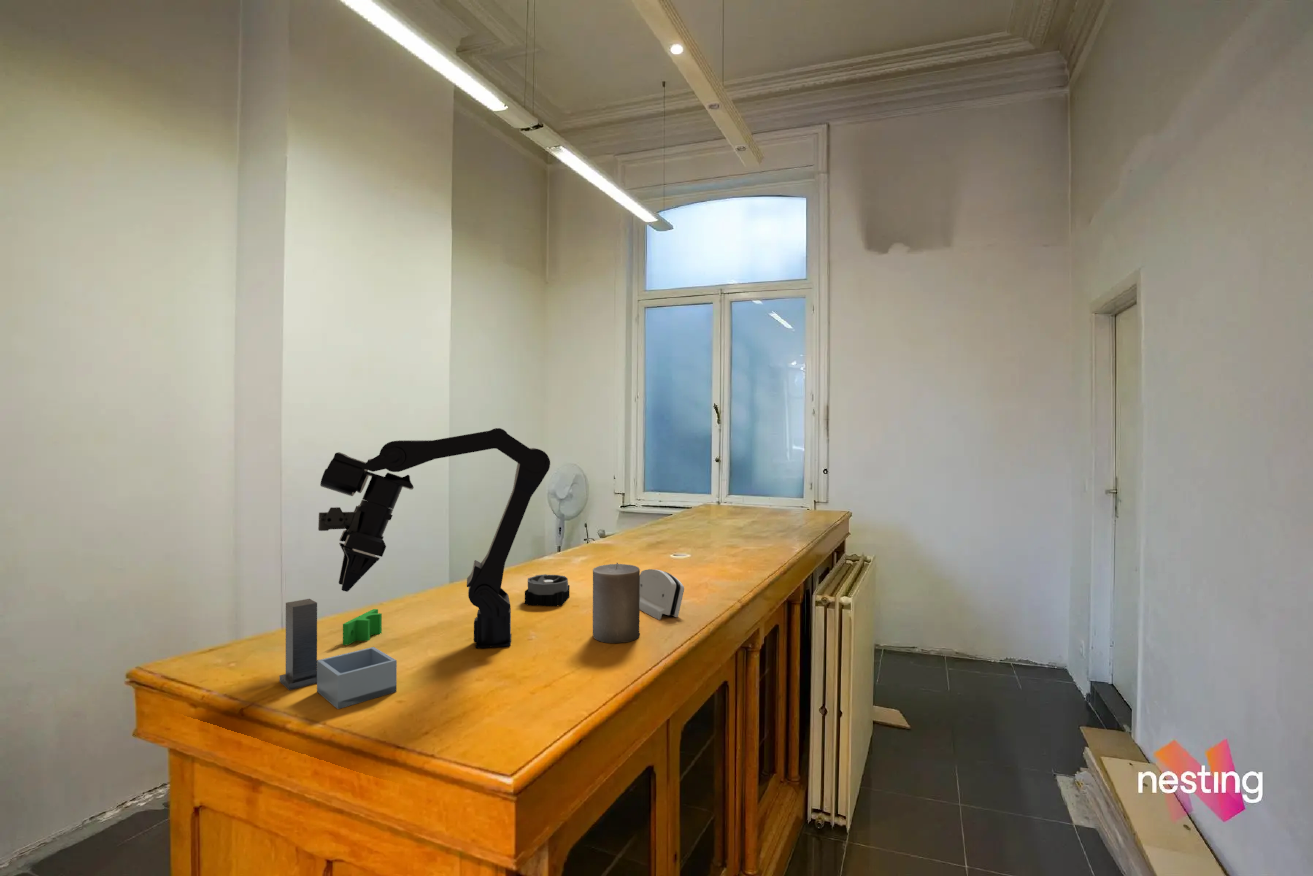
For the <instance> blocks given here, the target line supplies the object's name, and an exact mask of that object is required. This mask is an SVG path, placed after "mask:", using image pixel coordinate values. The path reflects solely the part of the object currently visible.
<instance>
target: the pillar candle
mask: <svg viewBox="0 0 1313 876" xmlns="http://www.w3.org/2000/svg"><path fill="white" fill-rule="evenodd" d="M640 574H641V569H640V568H639V567H638V566H636V565H633V564H625V563H624V564H623V563H618V562H616V563H614V564H613V563H610V564H602V565H598V566H596V567H594V568H593V569H592V637H593V638H594V640H596V641H598V642H602V643H607V644H620V643H630V642H632V641H635V640H636V641H637V639H639V638H640V635H641V633H640V622H641V621H640V615H641V614H640V611H641V610H640V608H639V606H640V605H639V602H640Z"/></svg>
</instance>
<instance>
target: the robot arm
mask: <svg viewBox="0 0 1313 876" xmlns="http://www.w3.org/2000/svg"><path fill="white" fill-rule="evenodd" d="M493 449H496V450H498V451H500V452H501V453H503V454H504V455H506V456H507V457H508V458H510V459H511V460H512V461H514V462H516V463H517V465H516V470H515V475H514V481H513V488H512V491H511V493H510V495H509V498H508V501H507V503H506V505H505V509H504V511H503V513H502V515H501V518H500V521H499V523H498V527H497V528H496V531H495V534H494V535H493V539H492V541H491V543H490V546H489V549H488V551H487V554H486V555H485V556H484V557H483V560H481V562H480V561H478V560H474V561H473V566H472V570H471V572H470V573H469V576H467V578H466V588H468V593H467V594H468V599H469V601H470V603H471V604H472V605H473V606H475V607H476V608H478V610H477V612H476V616H475V618H474V621H473V642H474V643H475V649H484V648H501V647H503V648H504V647H510V646H511V645H512V633H511V631H512V630H511V629H512V626H511V625H512V621H511V619H512V618H511V617H512V615H511V613H512V610H511V601H510V597H509V593H508V592H506V591H505V590H504V589H503V588H502V584H503V583H502V582H503V576H504V571H505V565H506V561H507V559H508V556H509V554H510V552H511V549H512V546H513V544H514V541H515V539H516V536H517V533H518V531H519V528H520V525H521V523H522V521H523V519H524V516H525V513H526V511H527V508H528V506H529V503H530V501H531V498H532V496H533V495H534V494H535V492H536V490H538V487H540V485H541V484H542V482H543V480H544V479H545V477H546V475H547V474H548V472H549V470H550V468H551V460H550V457H549V456H548V454H547V453H546V452H545V451H544V450H542V449H540V448H535V447H530V448H529V447H528V446H526V445H525V444H524V443H522V442H521V441H519V440H517V439H516V438H515V437H513V436H512V435H510V434H508V432H507V431H506V430H505V429H503V428H500V427H499V428H498V427H497V428H496V427H495V428H492V429H490V430H485V431H479V432H474V433H469V434H468V433H467V434H463V435H462V434H461V435H455V436H451V437H444V438H438V439H434V440H433V439H432V440H431V439H430V440H418V439H415V440H412V439H411V440H406V439H405V440H393V441H389V442H387V443H385V444H384V445H383V446H382V448H381V449H380V451H379V454H378V455H376V456H375V457H373V458H369V459H367V461H366V462H365V461H364V460H363V461H362V460H360V459H357V458H354V457H351V456H350V455H349V456H348V455H347V454H345V453H342V452H335V453H334V456H333V458H332V459H331V461H330V462H329V464H328V465H327V467H326V468H325V469H324V472H323V474H322V477H321V479H320V487H321V488H325V489H328V490H331V491H335V492H337V493H340V494H344V495H347V496H350V497H353V496H354V495H355V494H356V493H359V494H361V493H363V491H364V489H365V486H366V484H367V481H368V479H369V477H370V480H369V482H368V485H367V487H366V489H365V492H364V494H363V496H362V499H361V501H360V503H359V504H358V505H356V506H355V508H354V510H353V511H343V510H342V509H341V507H338V506H335V507H329V509H328V511H327V512H326V511H324V512H323V511H322V512H318V522H317V523H318V529H317V530H318V531H320V532H325V531H326V532H328V531H329V530H343V531H342V533H341V536H340V538H339V541H340V542H339V544H338V545H339V546H340V548H341V550H342V552H343V559H342V563H341V569H340V574H339V579H338V584H339V585H341V591H342V592H345V593H346V592H349V591H350V590H351V589H353V587H354V585H355V584H357V583H358V582H359V580H360V579H361V578H362V577H363V576H364V575H366V573H367V572H368V571H369V570H370V569H371V568H372V567H373V566H374V565H375V564H376V563H377V562H378V561H380V558H381V557H383V556H384V553H385V550H386V548H387V545H386V543H385V541H384V536H383V535H384V533H385V531H386V528H387V526H388V524H389V522H390V521H391V520H392V517H393V514H392V513H393V511H394V509H395V506H396V504H397V501H398V499H399V497H400V495H401V492H402V489H403V488H405V489H408V490H413V489H414V485H413V483H412V481H411V476H410V475H409V474H407V475H405V476H400V475H397V474H394V473H399V472H403V471H407V470H408V469H412V468H414V467H417V466H419V465H422V464H425V463H428V462H431V461H433V460H438V459H442V458H448V457H454V456H459V455H465V454H471V453H476V452H477V453H478V452H481V451H486V450H493ZM382 470H387V471H388V472H387V473H386V474H385V476H383V475H379V474H377V473H373V472H378V471H382ZM391 472H392V473H391ZM342 542H344V543H342Z"/></svg>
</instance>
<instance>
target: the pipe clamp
mask: <svg viewBox="0 0 1313 876" xmlns="http://www.w3.org/2000/svg"><path fill="white" fill-rule="evenodd" d="M382 616H383V613H379V609H378V608H372V609H371V610H368V611H367V612H365V613H362V614H361V615H358V616H357V617H354V618H352V619H350V620H348V621H346V622H344V623H342V645H343V646H349V645H350V644H353V643H354V642H356V641H358V642H359V641H361V642H369V641H370V640H371V636H373V635H374V634H375V635H381V634H382V632H383V629H382V627H383V626H382V625H383V621H382V619H383V617H382ZM380 633H381V634H380Z"/></svg>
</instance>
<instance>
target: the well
mask: <svg viewBox="0 0 1313 876" xmlns="http://www.w3.org/2000/svg"><path fill="white" fill-rule="evenodd" d="M397 666H398V665H397V659H396V658H393V657H392V656H390V655H388V654H387V653H385V652H383V651H381V650H380V649H378V648H376V647H374V646H372V647H367V648H362V649H358V650H354V651H349V652H346V653H342V654H337V655H334V656H330V657H325V658H321V659H317V683H316V693H318V694H319V695H320V696H321V697H323V698H324V699H325V700H326V701H327V702H329V703H330V704H331V705H332V706H333V707H335V708H336V709H337V710H340V709H343V708H346V707H349V706H350V707H351V706H354V705H356V704H360V703H363V702H367V701H370V700H375V699H377V698H380V697H384V696H387V695H390V694H393V693H397V674H398V673H397Z"/></svg>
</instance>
